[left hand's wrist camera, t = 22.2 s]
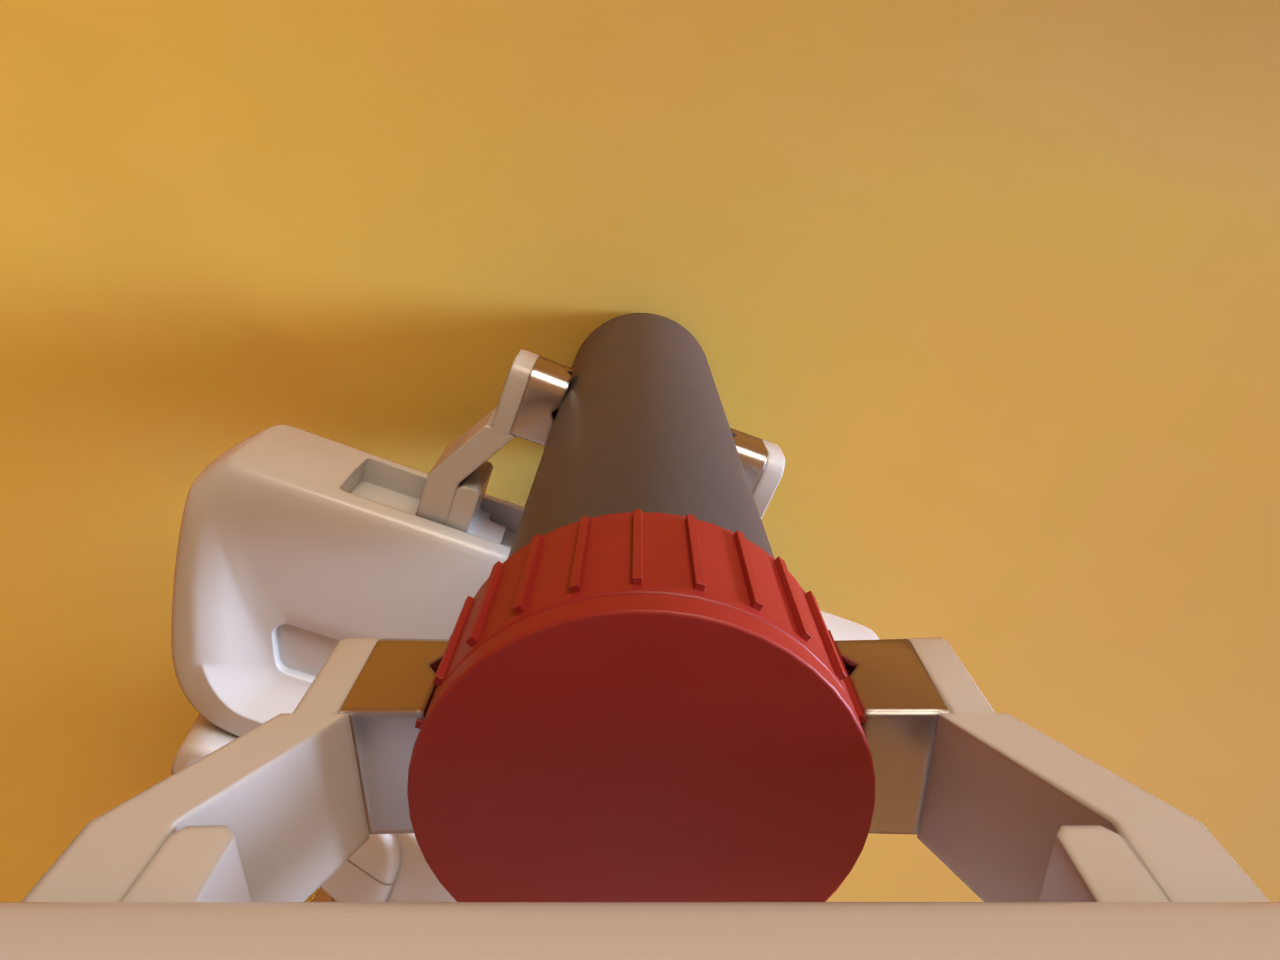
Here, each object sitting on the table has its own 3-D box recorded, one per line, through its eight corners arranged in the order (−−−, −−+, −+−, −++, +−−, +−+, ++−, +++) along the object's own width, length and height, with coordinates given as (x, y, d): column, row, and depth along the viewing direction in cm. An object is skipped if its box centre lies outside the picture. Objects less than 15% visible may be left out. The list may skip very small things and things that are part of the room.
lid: (549, 433, 9) (521, 516, 7) (910, 610, 10) (984, 731, 8) (392, 742, 11) (331, 884, 9) (712, 870, 12) (728, 1026, 10)
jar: (667, 469, 26) (709, 943, 10) (548, 409, 25) (392, 822, 9) (735, 354, 25) (909, 700, 9) (611, 286, 24) (554, 530, 8)
